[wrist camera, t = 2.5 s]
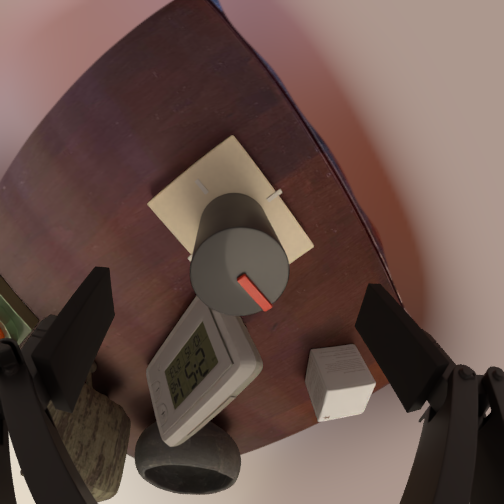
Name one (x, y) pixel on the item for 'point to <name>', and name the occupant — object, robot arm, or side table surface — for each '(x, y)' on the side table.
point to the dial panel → (222, 182)
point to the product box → (338, 382)
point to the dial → (237, 257)
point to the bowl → (189, 461)
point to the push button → (1, 334)
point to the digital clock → (200, 371)
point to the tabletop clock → (95, 439)
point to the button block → (14, 315)
